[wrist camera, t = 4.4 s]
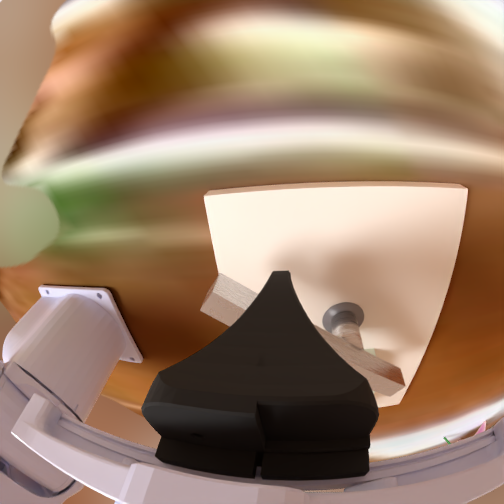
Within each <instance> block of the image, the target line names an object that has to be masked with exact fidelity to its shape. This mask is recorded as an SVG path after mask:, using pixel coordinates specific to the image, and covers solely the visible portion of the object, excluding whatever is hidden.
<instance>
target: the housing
mask: <svg viewBox="0 0 504 504" xmlns="http://www.w3.org/2000/svg"><path fill="white" fill-rule="evenodd" d="M467 194H468V189H467V188H466V187H464V186H462V185H460V184H454V183H435V182H404V181H349V182H316V183H295V184H279V185H264V186H252V187H240V188H229V189H219V190H210V191H208V192H207V193H206V194H205V195H204V200H205V206H206V211H207V217H208V222H209V227H210V232H211V238H212V243H213V248H214V253H215V258H216V263H217V267H218V272H219V274H220V272H221V273H222V274H224V275H226V276H228V277H229V278H231V279H233V280H235V281H236V282H238V283H240V284H242V285H243V286H245V287H247V288H249V289H250V290H252V291H254V292H256V293H258V294H259V293H260V291H261V290H262V288H263V287H264V285H265V284H266V282H267V280H268V279H269V277H270V275H271V273H272V272H273V271H288V270H289V272H290V273H291V280H292V284H293V287H294V290H295V292H296V294H297V296H298V299H299V301H300V303H301V305H302V307H303V309H304V310H305V312H306V314H307V316H308V317H309V319H310V320H311V322H312V323H313V324H314V325H316V326H318V327H320V328H322V329H324V330H326V331H328V332H330V333H331V334H332V328H331V319H332V317H333V316H334V315H335V314H337V313H339V312H342V311H350V312H353V313H354V314H355V315H356V318H357V322H358V326H359V330H360V334H361V338H362V343H363V347H364V349H371V348H374V350H375V354H376V357H378V358H381V359H383V360H385V361H387V362H389V363H391V364H393V365H395V366H397V367H399V368H401V372H402V375H403V379H404V382H405V386H406V387H404V388H403V389H401V390H400V391H398V392H397V393H395V394H394V395H392V396H391V397H389V396H386V395H383V394H381V393H378V392H375V393H374V396H375V399H376V402H377V406H378V407H385V406H391V405H397V404H399V403H400V402H401V400H402V398H403V396H404V394H405V392H406V390H407V389H408V387H409V385H410V383H411V381H412V379H413V377H414V375H415V373H416V371H417V368H418V366H419V364H420V362H421V360H422V358H423V355H424V353H425V351H426V348H427V346H428V344H429V341H430V339H431V336H432V334H433V331H434V328H435V326H436V323H437V320H438V318H439V315H440V312H441V309H442V306H443V303H444V300H445V297H446V294H447V290H448V287H449V284H450V280H451V276H452V273H453V269H454V265H455V261H456V257H457V253H458V248H459V243H460V238H461V233H462V228H463V222H464V216H465V210H466V202H467Z"/></svg>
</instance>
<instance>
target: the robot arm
mask: <svg viewBox="0 0 504 504" xmlns="http://www.w3.org/2000/svg"><path fill="white" fill-rule="evenodd" d="M39 292H40V294H41V296H42V297H41V298H40V299H39V300H38V301H37V302H36V303H35V304H34V305H33V306H32V308H31V309H30V310H29V311H28V312H27V313H26V314H25V315H24V316H23V317H22V318H21V319H20V320H19V322H18V323H17V324H16V325H15V326H14V327H13V328H12V330H11V331H10V332H9V333H8V335H7V337H6V339H5V341H4V346H3V361H4V363H3V362H2V361H1V360H0V504H62V503H63V502H64V501H65V500H66V499H67V498H69V497H70V496H72V495H74V494H75V493H77V492H79V491H80V490H81V489H82V488H83V487H84V485H86V486H88V487H90V488H91V489H93V490H95V491H97V492H99V493H101V494H103V495H105V496H107V497H109V498H111V499H113V500H115V503H114V504H466V503H468V502H470V501H472V500H474V499H477V498H479V497H480V496H483V495H485V494H486V493H488V492H490V491H492V490H494V489H496V488H497V487H499V486H501V485H502V484H504V417H502V418H501V419H500V420H499V421H498V422H497V423H496V424H495V425H494V427H493V428H491V429H488V430H486V431H484V432H481V433H479V434H476V435H474V436H471V437H469V438H466V439H463V440H461V441H458V442H455V443H452V444H449V445H446V446H443V447H439V448H436V449H432V450H429V451H425V452H421V453H417V454H413V455H409V456H405V457H400V458H395V459H390V460H384V461H378V462H372V463H369V452H368V449H369V448H370V433H371V431H372V429H373V428H374V426H375V424H376V422H377V420H378V417H379V411H378V406H377V402H376V399H375V396H374V393H373V391H372V388H371V386H370V384H369V382H368V380H367V378H365V377H364V376H363V375H361V374H360V373H359V372H358V371H356V370H355V369H354V368H353V367H352V366H350V365H349V364H348V363H347V362H346V361H345V360H344V359H343V358H342V357H341V356H339V355H338V353H337V352H336V351H335V350H334V349H333V348H332V347H331V346H330V345H329V344H328V343H327V342H326V340H325V339H324V338H323V337H322V335H321V334H320V333H319V332H318V330H317V329H316V328H315V326H314V325H313V323H312V322H311V320H310V319H309V317H308V316H307V314H306V312H305V310H304V309H303V307H302V305H301V303H300V301H299V299H298V296H297V294H296V292H295V290H294V287H293V284H292V280H291V273H290V272H289V270H288V271H273V272H272V273H271V275H270V277H269V279H268V280H267V282H266V284H265V285H264V287H263V288H262V290H261V291H260V293H259V294H258V295H257V297H256V298H255V299H254V301H253V302H252V303H251V305H250V306H249V307H248V308H247V309H246V310H245V312H244V313H243V314H242V315H241V316H240V317H239V318H238V319H237V320H236V321H235V323H234V324H232V325H231V326H230V327H229V328H228V329H227V330H226V331H225V332H224V333H223V334H221V335H220V336H219V337H218V338H216V339H215V340H214V341H213V342H211V343H210V344H209V345H207V346H206V347H204V348H203V349H201V350H200V351H198V352H197V353H195V354H193V355H192V356H190V357H188V358H186V359H185V360H183V361H181V362H179V363H177V364H175V365H173V366H171V367H169V368H167V369H165V370H162V371H160V372H159V373H158V375H157V376H156V378H155V380H154V381H153V383H152V385H151V387H150V390H149V392H148V394H147V396H146V399H145V401H144V403H143V405H142V408H141V409H142V414H143V416H144V417H145V419H146V420H147V421H148V422H149V423H150V425H151V426H152V427H153V428H154V429H155V430H156V431H157V432H158V433H159V434H160V435H161V440H160V442H159V445H158V448H157V449H154V448H150V447H147V446H144V445H141V444H137V443H134V442H131V441H128V440H125V439H122V438H120V437H117V436H114V435H111V434H109V433H106V432H103V431H101V430H98V429H96V428H94V427H91V426H89V425H87V424H84V423H85V421H86V419H87V417H88V415H89V414H90V412H91V409H92V408H93V406H94V404H95V402H96V400H97V398H98V396H99V395H100V393H101V391H102V389H103V387H104V386H105V384H106V382H107V380H108V378H109V377H110V375H111V373H112V371H113V369H114V368H115V366H116V364H117V362H118V361H119V360H124V361H129V362H135V363H142V361H143V357H142V355H141V353H140V352H139V350H138V348H137V346H136V344H135V342H134V340H133V338H132V336H131V335H130V333H129V331H128V329H127V327H126V324H125V322H124V320H123V318H122V316H121V314H120V312H119V310H118V308H117V305H116V303H115V301H114V299H113V296H112V294H111V292H110V291H109V290H108V289H106V288H91V287H67V286H49V285H41V286H40V287H39ZM341 488H345V489H344V492H324V493H323V492H319V493H318V492H304V490H328V489H341Z"/></svg>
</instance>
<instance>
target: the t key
mask: <svg viewBox="0 0 504 504" xmlns="http://www.w3.org/2000/svg"><path fill="white" fill-rule="evenodd" d="M257 295H258V293H256V292H254V291H252V290H250V289H249V288H247V287H245V286H243V285H242V284H240V283H238V282H236V281H235V280H233V279H231V278H229V277H228V276H226V275H224V274H222V273H221V272H220V274H219V275H218V277H217V278H216V280H215V281H214V283H213V284H212V286H211V287H210V289H209V290H208V293H207V295H206V297H205V300H204V302H203V304H202V307H201V309H200V311H202V312H204V313H206V314H207V315H209V316H211V317H213V318H215V319H217V320H219V321H220V322H222V323H224V324H226V325H228V326H231V325H232V324H234V323H235V321H236V320H237V319H238V318H239V317H240V316H241V315H242V314H243V313H244V312H245V310H246V309H247V308H248V307H249V306H250V305H251V303H252V302H253V301H254V299H255V298H256V297H257ZM313 325H314V324H313ZM314 326H315V328H316V329H317V330H318V332H319V333H320V334H321V335H322V337H323V338H324V339H325V340H326V342H327V343H328V344H329V345H330V346H331V347H332V348H333V349H334V350H335V351H336V352H337V353H338V355H339V356H341V357H342V358H343V359H344V360H345V361H346V362H347V363H348V364H349V365H350V366H352V367H353V368H354V369H355V370H356V371H358V372H359V373H360V374H361V375H363V376H364V377H365V378H367V380H368V382H369V384H370V386H371V388H372V391H375V392H378V393H381V394H383V395H386V396H389V397H391V396H392V395H394V394H395V393H397V392H398V391H400V390H401V389H403V388H404V387H406V386H405V382H404V379H403V375H402V372H401V368H399V367H397V366H395V365H393V364H391V363H389V362H387V361H385V360H383V359H381V358H378V357H376V356H374V355H372V354H370V353H369V352H367V351H365V350H364V347H363V343H362V338H361V334H360V330H359V326H358V322H357V318H356V315H355V314H354V313H353V312H350V311H342V312H339V313H337V314H335V315H334V316H333V317H332V319H331V328H332V334H331V333H330V332H328V331H326V330H324V329H322V328H320V327H318V326H316V325H314Z"/></svg>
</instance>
